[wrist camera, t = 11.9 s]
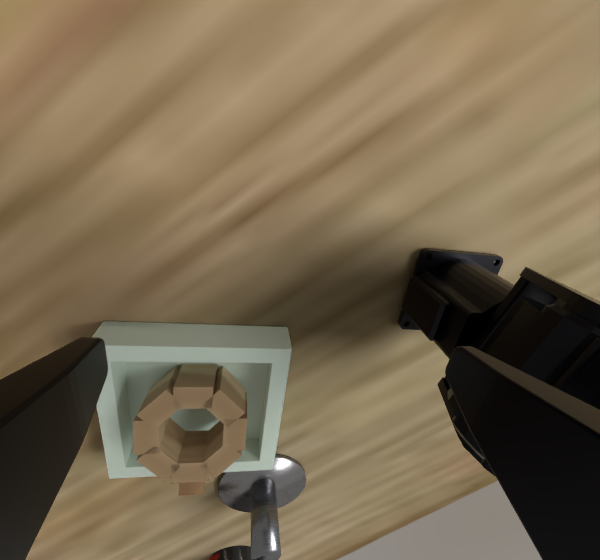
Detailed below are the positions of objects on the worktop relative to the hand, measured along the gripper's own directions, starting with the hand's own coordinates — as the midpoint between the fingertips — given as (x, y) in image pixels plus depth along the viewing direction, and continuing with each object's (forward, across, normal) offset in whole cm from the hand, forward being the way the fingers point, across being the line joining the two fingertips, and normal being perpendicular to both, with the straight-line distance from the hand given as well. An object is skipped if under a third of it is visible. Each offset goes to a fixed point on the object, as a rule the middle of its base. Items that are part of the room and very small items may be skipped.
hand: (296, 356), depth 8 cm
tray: (+13, +4, +14) cm, 19 cm away
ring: (+12, +4, +14) cm, 19 cm away
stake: (+13, -2, +26) cm, 29 cm away
